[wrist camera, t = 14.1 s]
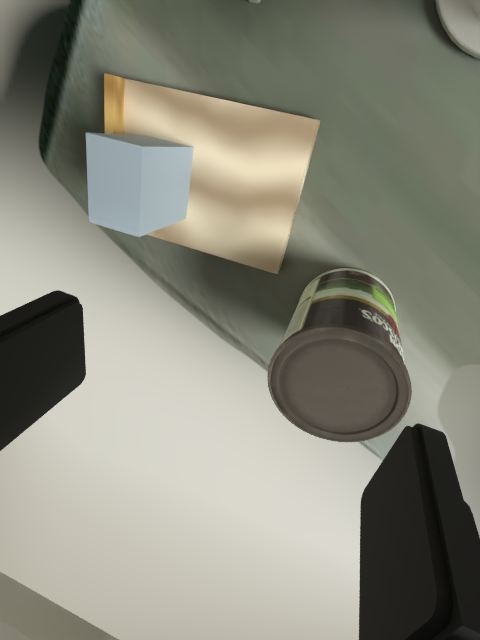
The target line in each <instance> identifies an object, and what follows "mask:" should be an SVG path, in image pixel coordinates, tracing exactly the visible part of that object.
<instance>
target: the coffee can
mask: <svg viewBox="0 0 480 640" xmlns="http://www.w3.org/2000/svg"><path fill="white" fill-rule="evenodd" d="M268 387H269V391H270V394H271V397H272V399H273V401H274V403H275V405H276V406H277V408H278V409H279V411H280V412H281V413H282V414H283V415H284V416H285V417H286V418H287V419H288V420H289V421H290V422H291V423H293V424H294V425H295V426H297V427H298V428H300V429H301V430H303V431H305V432H307V433H309V434H311V435H314V436H317V437H319V438H323V439H327V440H331V441H338V442H359V441H365V440H369V439H372V438H375V437H377V436H380V435H382V434H384V433H386V432H388V431H389V430H391V429H392V428H393V427H395V426H396V425H397V424H398V423H399V422H400V421H401V419H402V418H403V417H404V415H405V413H406V411H407V409H408V407H409V404H410V400H411V392H412V391H411V382H410V378H409V374H408V371H407V369H406V366H405V361H404V355H403V350H402V345H401V340H400V334H399V329H398V324H397V318H396V308H395V302H394V299H393V296H392V294H391V292H390V290H389V289H388V287H387V286H386V285H385V284H384V283H383V282H382V281H381V280H380V279H378V278H377V277H375V276H374V275H372V274H370V273H368V272H365V271H363V270H359V269H353V268H339V269H334V270H330V271H327V272H325V273H323V274H320V275H319V276H317V277H316V278H314V279H313V280H312V281H311V282H310V283H309V284H308V285H307V287H306V288H305V289H304V291H303V293H302V295H301V297H300V300H299V303H298V306H297V308H296V310H295V312H294V315H293V317H292V319H291V321H290V324H289V326H288V328H287V330H286V333H285V335H284V337H283V339H282V341H281V344H280V346H279V348H278V349H277V350H276V352H275V354H274V355H273V357H272V359H271V362H270V365H269V370H268Z"/></svg>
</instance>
